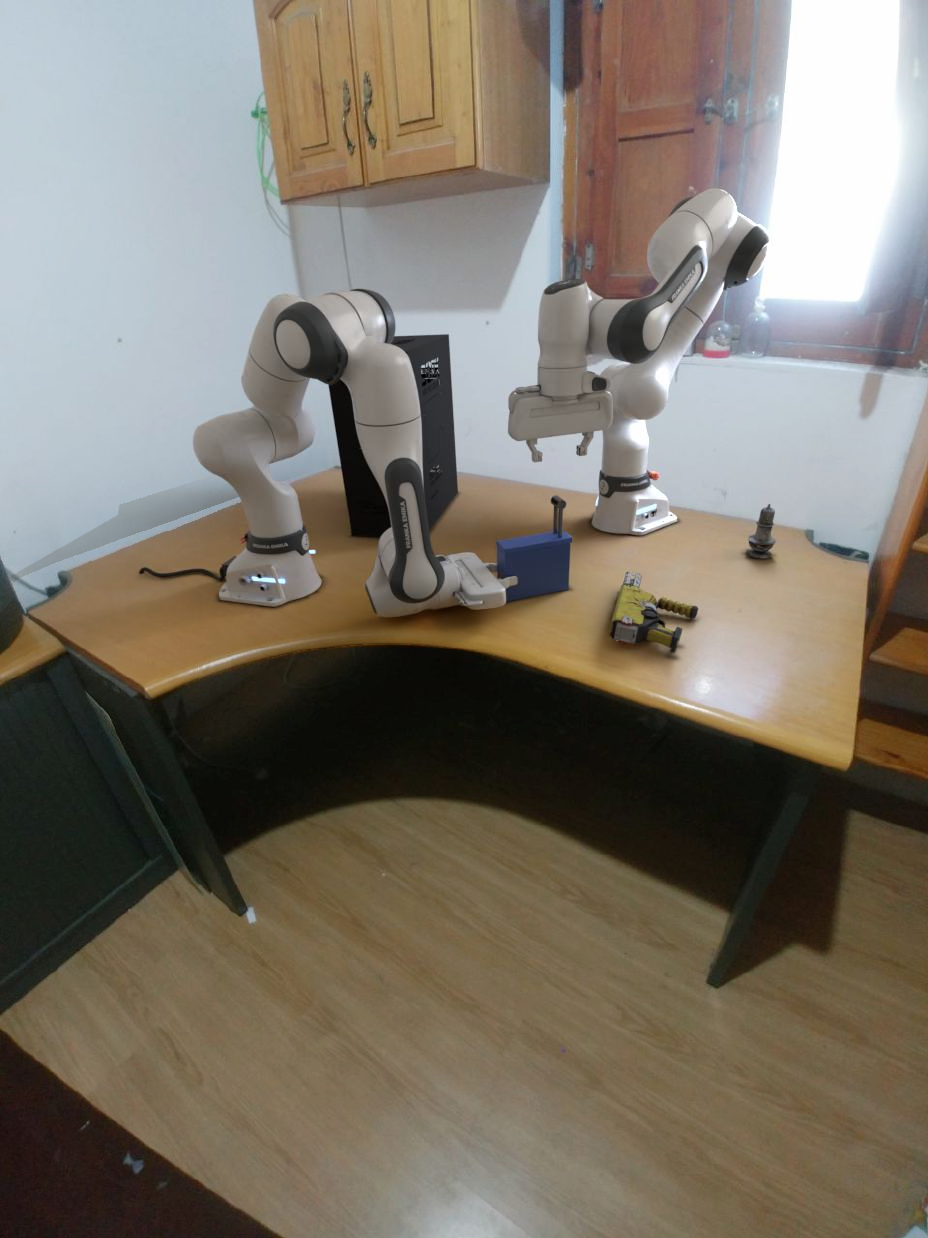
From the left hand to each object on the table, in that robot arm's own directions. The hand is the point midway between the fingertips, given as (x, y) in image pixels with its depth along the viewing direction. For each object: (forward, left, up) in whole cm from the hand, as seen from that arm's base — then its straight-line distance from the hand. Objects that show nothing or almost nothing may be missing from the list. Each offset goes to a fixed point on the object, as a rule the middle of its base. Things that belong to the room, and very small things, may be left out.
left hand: (510, 573), depth 125 cm
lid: (+5, +2, +6) cm, 8 cm away
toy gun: (+28, -9, -5) cm, 30 cm away
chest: (+5, +2, -5) cm, 7 cm away
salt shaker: (+56, +22, -5) cm, 60 cm away
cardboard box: (-33, +50, -5) cm, 60 cm away
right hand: (+9, +4, +23) cm, 25 cm away
